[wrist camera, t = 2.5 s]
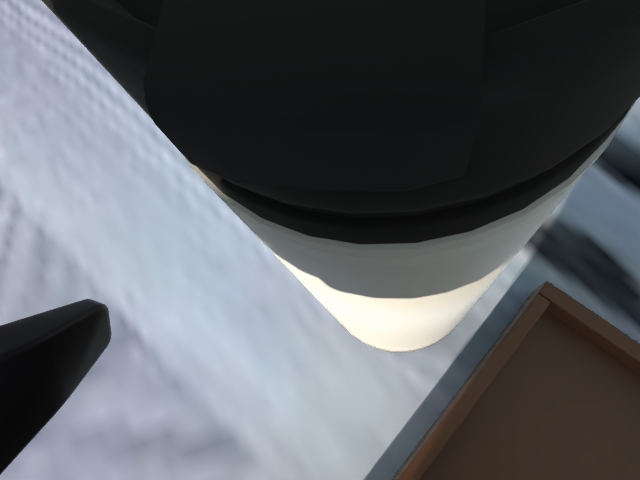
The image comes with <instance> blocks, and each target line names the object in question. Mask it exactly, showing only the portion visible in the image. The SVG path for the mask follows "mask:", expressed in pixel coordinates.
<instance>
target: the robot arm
mask: <svg viewBox="0 0 640 480" xmlns="http://www.w3.org/2000/svg"><path fill="white" fill-rule="evenodd" d="M110 339H111V327H110V319H109V311H108V308H107V306H106V305H104V304H102V303H99V302H97V301H94V300H91V299H86V300H82V301H79V302H75V303H72V304H69V305H66V306H62V307H59V308H56V309H53V310H50V311H46V312H43V313H40V314H37V315H33V316H30V317H27V318H24V319H21V320H17V321H14V322H11V323H8V324H4V325H1V326H0V474H1V473H2V472H3V471H4V470H5V469H6V468H7V467H8V465H9V464H10V463H11V462H12V461H13V460H14V459H15V458H16V457H17V456H18V454H19V453H20V452H21V451H22V450H23V449H24V448H25V447H26V446H27V445H28V443H29V442H30V441H31V440H32V439H33V438H34V437H35V436H36V435H37V434H38V432H39V431H40V430H41V429H42V428H43V427H44V426H45V425H46V424H47V423H48V421H49V420H50V419H51V418H52V417H53V416H54V415H55V414H56V412H57V411H58V410H59V409H60V408H61V407H62V405H63V404H64V403H65V402H66V400H67V399H68V398H69V397H70V395H71V394H72V393H73V391H74V390H75V389H76V387H77V386H78V385H79V383H80V382H81V381H82V379H83V378H84V377H85V375H86V374H87V373H88V371H89V370H90V369H91V367H92V366H93V365H94V363H95V362H96V361H97V359H98V358H99V357H100V355H101V354H102V353H103V351H104V350H105V349H106V347H107V346H108V344H109V342H110Z"/></svg>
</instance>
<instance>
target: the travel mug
mask: <svg viewBox="0 0 640 480" xmlns="http://www.w3.org/2000/svg"><path fill="white" fill-rule="evenodd" d="M42 1H43V2H44V3H45V4H46V5H47V7H48V8H49V9H50V10H51V11H52V12H53V13H54V14H55V15H56V16H57V17H58V18H59V19H60V20H61V21H62V23H63V24H64V25H65V26H66V27H67V28H68V29H69V30H70V31H71V32H72V33H73V34H74V35H75V36H76V37H77V39H78V40H79V41H80V42H81V43H82V44H83V45H84V46H85V47H86V48H87V49H88V50H89V52H90V53H91V54H92V55H93V56H94V57H95V58H96V59H97V60H98V61H99V62H100V63H101V64H102V66H103V67H104V68H105V69H106V70H107V71H108V72H109V73H110V74H111V75H112V76H113V77H114V79H115V80H116V81H117V82H118V83H119V84H120V85H121V86H122V87H123V88H124V89H125V90H126V91H127V93H128V94H129V95H130V96H131V97H132V98H133V99H134V100H135V101H136V102H137V103H138V104H139V106H140V107H141V108H142V109H143V110H144V111H145V112H146V113H147V114H148V115H149V116H150V117H151V118H152V120H153V121H154V123H155V124H156V125H157V126H158V128H159V129H160V130H161V131H162V132H163V133H164V134H165V135H166V136H167V138H168V139H169V140H170V141H171V142H172V143H173V144H174V145H175V146H176V148H177V149H178V150H179V151H180V152H181V153H182V154H183V155H184V157H185V158H186V160H187V162H188V163H189V165H190V167H191V168H192V169H193V170H194V171H195V172H196V173H197V174H198V175H199V176H200V177H201V178H202V179H203V180H204V181H205V182H206V183H207V184H208V185H209V186H210V187H211V188H212V189H213V190H214V191H215V193H216V194H217V195H218V196H219V197H220V198H221V199H222V200H223V201H224V202H225V203H226V204H227V205H228V206H229V207H230V208H231V209H232V211H233V212H234V213H235V214H236V215H237V216H238V217H239V218H240V219H241V220H242V221H243V222H244V223H245V224H246V225H247V226H248V227H249V228H250V229H251V230H252V231H253V232H254V233H255V234H256V236H257V237H258V238H259V239H260V240H261V241H262V242H263V243H264V244H265V245H266V246H267V247H268V248H269V249H270V250H271V251H272V252H273V253H274V254H275V255H276V256H277V257H278V258H279V259H280V261H281V262H282V263H283V264H284V265H285V266H286V267H287V268H288V269H289V270H290V271H291V272H292V273H293V274H294V275H295V276H296V277H297V278H298V279H299V280H300V281H301V282H302V283H303V284H304V285H305V287H306V288H307V289H308V290H309V291H310V292H311V293H312V294H313V295H314V296H315V297H316V298H317V299H318V300H319V301H320V302H321V303H322V304H323V305H324V306H325V307H326V308H327V309H328V310H329V312H330V313H331V314H332V315H333V316H334V317H335V318H336V319H337V320H338V321H339V322H340V323H341V324H342V325H343V326H344V327H345V328H346V329H347V330H348V331H349V332H350V333H351V334H352V335H353V336H354V337H356V338H357V339H359V340H360V341H361V342H363V343H364V344H367V345H369V346H371V347H374V348H376V349H379V350H384V351H388V352H412V351H417V350H422V349H424V348H426V347H429V346H431V345H434V344H436V343H437V342H439V341H440V340H441V339H443V338H444V337H446V336H447V335H448V334H449V333H450V332H451V331H452V330H453V329H454V328H455V327H456V326H457V325H458V323H459V322H460V321H461V320H462V319H463V318H464V316H465V315H466V314H467V313H468V312H469V310H470V309H471V308H472V307H473V306H474V304H475V303H476V302H477V301H478V300H479V299H480V297H481V296H482V295H483V294H484V293H485V291H486V290H487V289H488V288H489V287H490V285H491V284H492V283H493V282H494V281H495V280H496V278H497V277H498V276H499V275H500V274H501V272H502V271H503V270H504V269H505V268H506V266H507V265H508V264H509V263H510V262H511V261H512V259H513V258H514V257H515V256H516V255H517V253H518V252H519V251H520V250H521V249H522V248H523V246H524V245H525V244H526V243H527V242H528V240H529V239H530V238H531V237H532V236H533V234H534V233H535V232H536V231H537V230H538V229H539V227H540V226H541V225H542V224H543V223H544V221H545V220H546V219H547V218H548V217H549V215H550V214H551V213H552V212H553V211H554V210H555V208H556V207H557V206H558V205H559V204H560V202H561V201H562V200H563V199H564V198H565V196H566V195H567V194H568V193H569V192H570V191H571V189H572V188H573V187H574V186H575V185H576V183H577V182H578V181H579V180H580V179H581V177H582V176H583V175H584V173H585V171H586V170H587V169H588V168H589V167H590V166H591V165H592V164H593V163H594V162H595V161H596V160H597V159H598V157H599V156H600V155H601V154H602V153H603V151H604V150H605V149H606V148H607V147H608V145H609V144H610V142H611V141H612V139H613V137H614V136H615V134H616V132H617V131H618V129H619V128H620V126H621V124H622V123H623V121H624V119H625V118H626V116H627V114H628V113H629V111H630V109H631V108H632V106H633V105H634V103H635V101H636V100H637V99H638V98H639V97H640V0H42Z"/></svg>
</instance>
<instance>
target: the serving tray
mask: <svg viewBox="0 0 640 480" xmlns="http://www.w3.org/2000/svg"><path fill="white" fill-rule="evenodd" d="M392 480H640V344H639V343H638V342H636V341H635V340H633V339H632V338H630V337H629V336H627V335H626V334H624V333H623V332H622V331H620V330H619V329H617V328H616V327H614V326H613V325H611V324H610V323H608V322H607V321H605V320H604V319H602V318H601V317H599V316H598V315H597V314H595V313H594V312H592V311H591V310H589V309H588V308H586V307H585V306H583V305H582V304H580V303H579V302H577V301H576V300H574V299H573V298H571V297H570V296H569V295H567V294H566V293H564V292H563V291H561V290H560V289H558V288H557V287H555V286H554V285H552V284H551V283H549V282H545V283H544V284H542V285H541V286H540V287H538V288H537V289H536V290H534V291H533V293H532V294H531V295H530V297H529V298H528V299H527V301H526V302H525V303H524V305H523V306H522V307H521V309H520V310H519V311H518V313H517V314H516V315H515V317H514V318H513V319H512V321H511V322H510V323H509V324H508V326H507V327H506V328H505V330H504V331H503V332H502V334H501V335H500V336H499V338H498V339H497V340H496V342H495V343H494V344H493V346H492V347H491V348H490V350H489V351H488V352H487V354H486V355H485V356H484V358H483V359H482V360H481V362H480V363H479V364H478V366H477V367H476V368H475V370H474V371H473V372H472V374H471V375H470V376H469V378H468V379H467V380H466V382H465V383H464V384H463V386H462V387H461V388H460V390H459V391H458V392H457V393H456V395H455V396H454V397H453V399H452V400H451V401H450V403H449V404H448V405H447V407H446V408H445V409H444V411H443V412H442V413H441V415H440V416H439V417H438V419H437V420H436V421H435V423H434V424H433V425H432V427H431V428H430V429H429V431H428V432H427V433H426V435H425V436H424V437H423V439H422V440H421V441H420V443H419V444H418V445H417V447H416V448H415V449H414V451H413V452H412V453H411V455H410V456H409V457H408V459H407V460H406V461H405V463H404V464H403V465H402V466H401V468H400V469H399V470H398V472H397V473H396V474H395V476H394V477H393V478H392Z"/></svg>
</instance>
